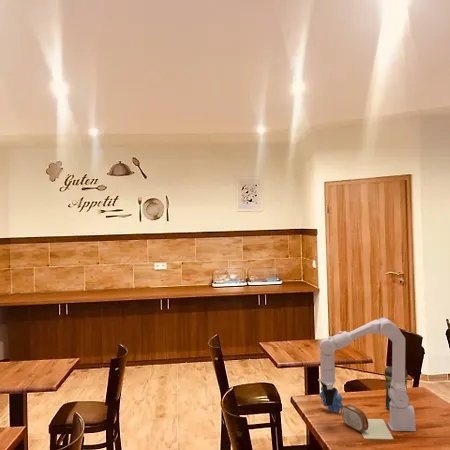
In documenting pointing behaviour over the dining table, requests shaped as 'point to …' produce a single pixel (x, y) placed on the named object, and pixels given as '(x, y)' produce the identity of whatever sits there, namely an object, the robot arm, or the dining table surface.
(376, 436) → the mat
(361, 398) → the dining table surface
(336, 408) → the grapes
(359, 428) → the tin
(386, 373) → the coffee jar
